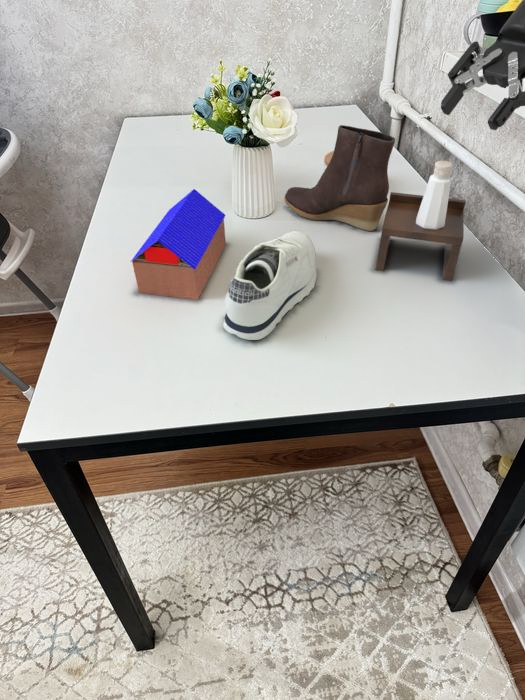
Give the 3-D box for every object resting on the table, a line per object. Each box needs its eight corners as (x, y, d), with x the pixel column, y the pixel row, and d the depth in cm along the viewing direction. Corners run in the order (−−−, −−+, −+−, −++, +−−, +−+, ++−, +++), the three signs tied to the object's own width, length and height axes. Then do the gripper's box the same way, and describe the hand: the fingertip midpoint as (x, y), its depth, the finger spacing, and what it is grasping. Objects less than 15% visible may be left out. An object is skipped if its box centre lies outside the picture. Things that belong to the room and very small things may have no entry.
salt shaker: (437, 233, 87) (453, 172, 79) (409, 224, 89) (421, 164, 82) (450, 221, 90) (466, 161, 82) (422, 213, 92) (435, 154, 85)
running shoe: (329, 260, 97) (334, 205, 89) (277, 353, 78) (277, 293, 70) (277, 250, 100) (277, 196, 92) (214, 336, 81) (208, 277, 73)
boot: (295, 197, 118) (298, 108, 104) (390, 222, 108) (407, 127, 95) (276, 212, 113) (277, 120, 99) (375, 239, 103) (390, 142, 89)
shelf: (452, 248, 100) (465, 200, 93) (451, 281, 91) (465, 230, 84) (382, 239, 103) (390, 191, 96) (375, 270, 94) (383, 220, 87)
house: (227, 244, 102) (223, 191, 95) (199, 300, 88) (191, 243, 80) (173, 239, 104) (165, 186, 96) (136, 293, 90) (123, 237, 82)
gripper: (493, -10, 70) (421, 91, 73) (589, 0, 61) (502, 115, 64) (505, 30, 76) (437, 121, 79) (594, 44, 67) (514, 147, 70)
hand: (466, 118), depth 72 cm, fingers open, 8 cm apart
